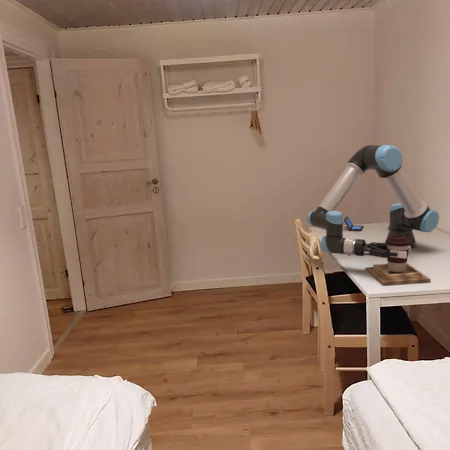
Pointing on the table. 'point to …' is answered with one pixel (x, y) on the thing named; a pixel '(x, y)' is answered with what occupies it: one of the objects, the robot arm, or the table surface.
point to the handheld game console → (350, 226)
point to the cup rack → (396, 275)
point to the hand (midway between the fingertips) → (408, 252)
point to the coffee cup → (397, 245)
